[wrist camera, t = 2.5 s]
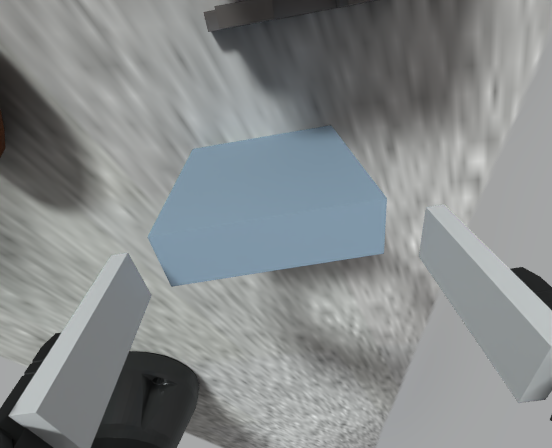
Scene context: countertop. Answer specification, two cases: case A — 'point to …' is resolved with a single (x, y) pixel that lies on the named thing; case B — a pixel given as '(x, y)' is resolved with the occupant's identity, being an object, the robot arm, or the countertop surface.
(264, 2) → the cabinet
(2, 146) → the potato
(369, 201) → the block
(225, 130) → the countertop surface
